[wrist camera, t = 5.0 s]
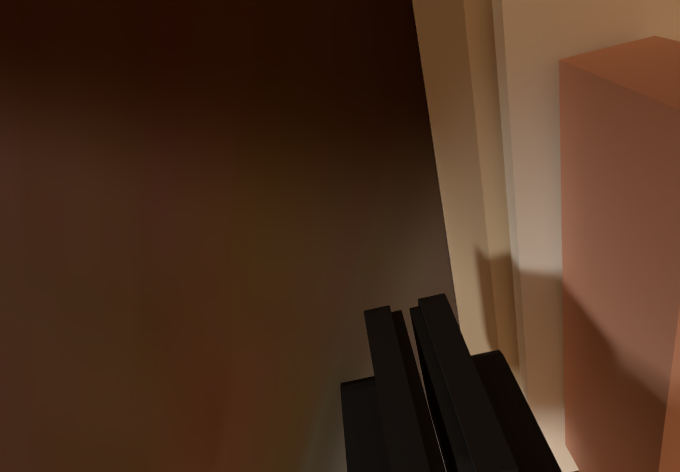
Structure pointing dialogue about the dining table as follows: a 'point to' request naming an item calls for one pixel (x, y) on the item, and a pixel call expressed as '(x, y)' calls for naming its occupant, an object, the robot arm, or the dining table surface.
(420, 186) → the dining table surface
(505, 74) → the cream slab
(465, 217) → the box
